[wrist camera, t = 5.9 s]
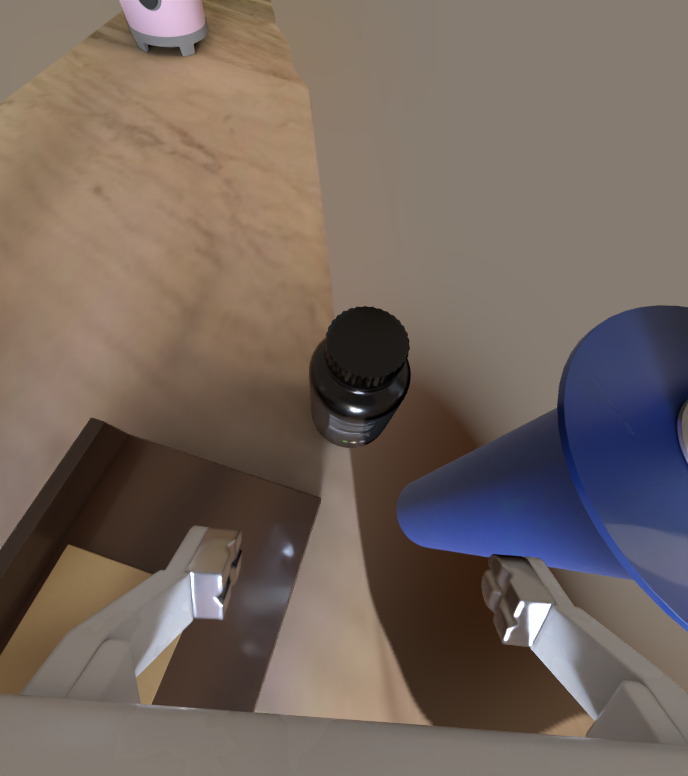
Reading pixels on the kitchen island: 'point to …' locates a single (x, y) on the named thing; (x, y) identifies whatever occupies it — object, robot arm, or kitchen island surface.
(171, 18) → the blender
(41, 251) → the kitchen island surface
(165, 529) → the shelf
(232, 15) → the kitchen island surface
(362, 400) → the supplement bottle
